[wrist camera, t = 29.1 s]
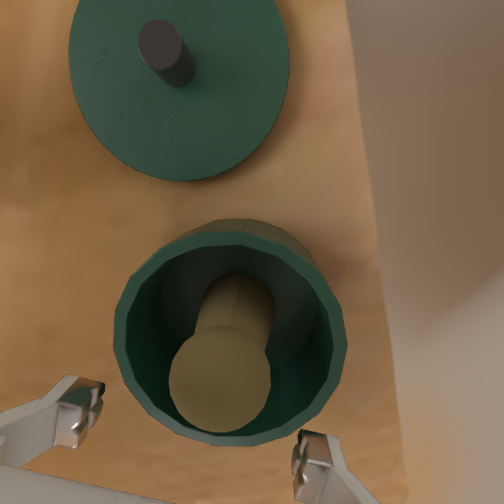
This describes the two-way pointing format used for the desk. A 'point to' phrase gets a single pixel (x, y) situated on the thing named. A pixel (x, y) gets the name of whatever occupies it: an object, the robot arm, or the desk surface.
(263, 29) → the lid
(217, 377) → the cork
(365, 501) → the robot arm
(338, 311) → the tin
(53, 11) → the desk surface
